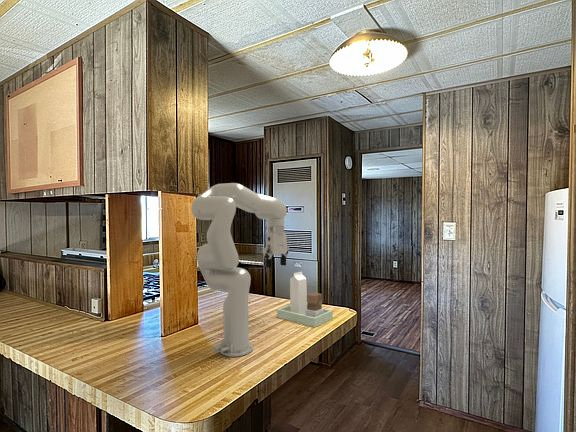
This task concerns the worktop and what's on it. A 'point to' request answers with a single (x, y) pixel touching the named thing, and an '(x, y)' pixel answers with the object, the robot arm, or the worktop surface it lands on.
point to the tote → (304, 317)
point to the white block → (314, 312)
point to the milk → (298, 293)
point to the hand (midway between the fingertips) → (276, 266)
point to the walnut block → (314, 301)
